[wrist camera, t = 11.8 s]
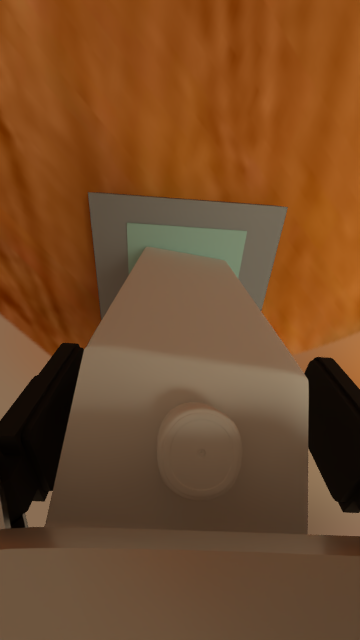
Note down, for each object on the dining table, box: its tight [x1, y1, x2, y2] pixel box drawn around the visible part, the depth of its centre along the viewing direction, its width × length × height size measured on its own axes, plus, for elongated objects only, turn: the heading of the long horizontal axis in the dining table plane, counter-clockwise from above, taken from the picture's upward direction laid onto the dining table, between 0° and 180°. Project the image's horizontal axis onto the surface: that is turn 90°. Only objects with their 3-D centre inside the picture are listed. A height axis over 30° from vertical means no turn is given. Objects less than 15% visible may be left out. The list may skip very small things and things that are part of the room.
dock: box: [88, 192, 288, 320], centre depth 22 cm, size 16×16×7 cm
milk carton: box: [44, 247, 309, 534], centre depth 14 cm, size 7×7×19 cm
